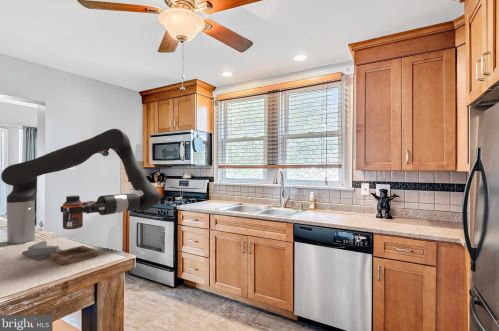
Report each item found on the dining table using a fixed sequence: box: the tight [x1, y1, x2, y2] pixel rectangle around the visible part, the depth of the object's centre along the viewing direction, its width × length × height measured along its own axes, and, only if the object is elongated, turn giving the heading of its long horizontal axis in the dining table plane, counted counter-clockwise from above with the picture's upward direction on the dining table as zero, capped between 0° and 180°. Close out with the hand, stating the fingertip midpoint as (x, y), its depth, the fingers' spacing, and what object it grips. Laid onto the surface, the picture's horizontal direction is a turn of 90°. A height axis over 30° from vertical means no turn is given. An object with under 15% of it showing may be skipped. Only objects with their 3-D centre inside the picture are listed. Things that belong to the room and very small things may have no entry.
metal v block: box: [22, 240, 63, 262], centre depth 100 cm, size 15×9×3 cm, turn 55°
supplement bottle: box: [62, 195, 84, 230], centre depth 96 cm, size 6×6×11 cm
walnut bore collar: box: [48, 245, 100, 266], centre depth 96 cm, size 12×11×2 cm
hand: (65, 210), depth 94 cm, fingers closed on supplement bottle, 6 cm apart
